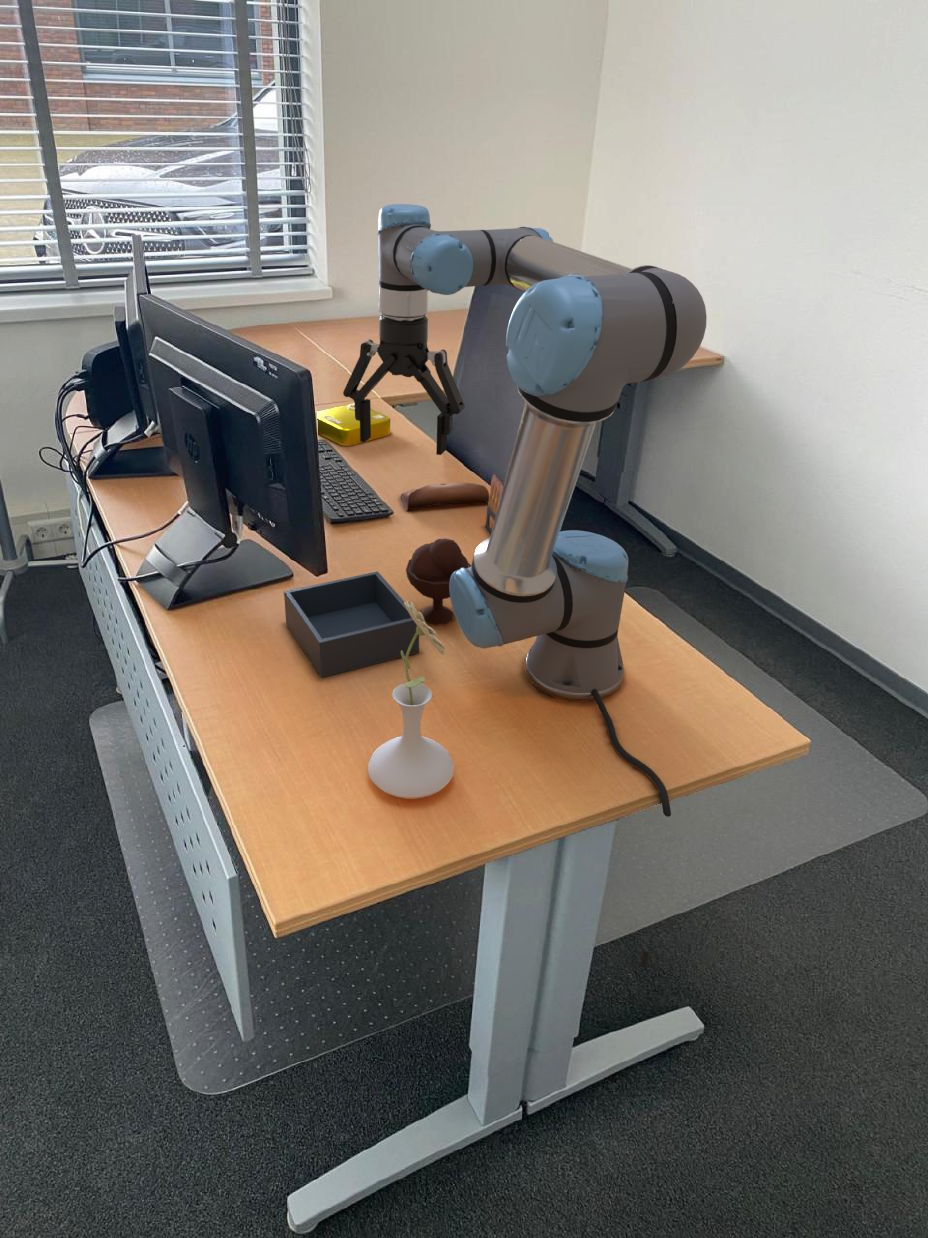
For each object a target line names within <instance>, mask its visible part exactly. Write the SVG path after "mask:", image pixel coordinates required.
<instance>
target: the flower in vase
mask: <svg viewBox="0 0 928 1238" xmlns="http://www.w3.org/2000/svg"><path fill="white" fill-rule="evenodd" d="M404 604H405V607H406V609H407V611H408V612H409V614H410V616H411V617H412V619H413V620H414V622H415V623H416V625H417V628H416V633H415V635H414V637H413V639H412V641H411V643H410V645H409V648H408V650H407V653H406V656H405V655H404V653H403V651H401V656H402V657H401V659H402V661H403V663H404V669H405V676H406V681H407V682H404V683H401V684H399V685H398V686H396V687H395V688H394V689H393V690H392V694H391V696H392V699H393V700H394V701H395V702H396V703H397V704H398V706H399V708H400V711H401V716H402V725H403V726H402V734H401V735H399V736H396V737H393V738H391V739H389V740H387V741H385V742H384V743H382V744H381V745H379V746H378V747H377V748H376V749H375V750H374V751H373V753H372V755H371V756H370V759H369V760H368V765H367V772H368V777H369V778H370V780H371V781H372V783H373V784H374V785H375V786H376V787H377V788H378V789H379V790H381V791H382V792H383V793H385V794H387V795H389V796H392V797H395V798H400V799H408V800H413V799H415V800H417V799H424V798H427V797H430V796H433V795H435V794H437V793H438V792H440V791H441V790H442V789H444V788H445V787H446V786H447V785H448V784H449V783H450V782H451V780H452V778H453V776H454V774H455V773H454V772H455V764H454V761H453V758H452V756H451V754H450V753H449V751H448V750H447V749H446V747H444V746H443V745H442V744H440V743H438V742H437V741H435V740H433V739H431V738H429V737H426V736H422V731H421V725H422V724H421V723H422V715H423V712H424V709H425V706H426V705H427V704H428V703H430V702H431V700H432V698H433V691H432V690H431V688H430V687H428V686H427V685H426V684H423V683H424V682H425V681H426V678H425V677H424V676H418V677H415V678H413V679H412V680H411V679H410V673H409V670H411V665H410V663H409V656H410V655H409V653H410V650H411V648H412V646H413V643H414V641H415V639H416V637H417V636H418V635H419V636H422V637H423V636H424V637H425V638H426V640H427V641H428V642H429V643H430V644H431V646H433V647H434V649H436V651H437V652H438V653H439V654H440V655H442V656H444V655H445V653H446V651H445V648H446V646H445V645H444V643H443V642H441V641H440V640H439V639H438V638H437V637H436V636H437V632H436V631H435V630H434V628H432V627H430V626H428V624H427V622H426V621H425V620H424V617H423V615H422V612H421V611H420V610H419V611H418V610H417V609H416V606H415V605H414V603H413V602H412V601H411V600H410V601H409V602H408V600H406V601H404Z"/></svg>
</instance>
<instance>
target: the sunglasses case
mask: <svg viewBox="0 0 928 1238" xmlns="http://www.w3.org/2000/svg"><path fill="white" fill-rule="evenodd" d="M489 493H490V491H489V490H488V488H487V487H486V486H485V485H482V484H478V483H473V482H464V481H463V482H450V483H449V482H448V483H447V482H446V483H444V482H441V483H438V484H435V483H434V484H427V485H424V486H421V487H418V488H413V489H410V490H407V491H404V492H402V493H401V494H400V499H401V502H402V504H403V506H404V508H405V510H406V511H408V510H409V509H410V510H412V509H413V510H414V509H418V508H419V509H421V508H425V507H426V508H427V507H430V506H432V507H433V506H437V505H451V504H456V503H457V504H458V503H460V504H461V503H462V504H465V503H475V502H486V503H489Z"/></svg>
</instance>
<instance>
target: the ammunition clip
mask: <svg viewBox="0 0 928 1238" xmlns="http://www.w3.org/2000/svg"><path fill="white" fill-rule="evenodd" d="M490 481H491V482H490V487H489V502H488V504H487V505H486V516H485V530H486V531H487V532H488V534H489V535H490V536H491V532H492V528H493V525H494V521H495V517H496V513H497V509H498V505H499V502H500V498H501V494H502V490H503V486H504V484H502V481H501V480H499V477H497V475H496V474H495V473H494V474H493V475H492V477H491V480H490Z"/></svg>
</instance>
